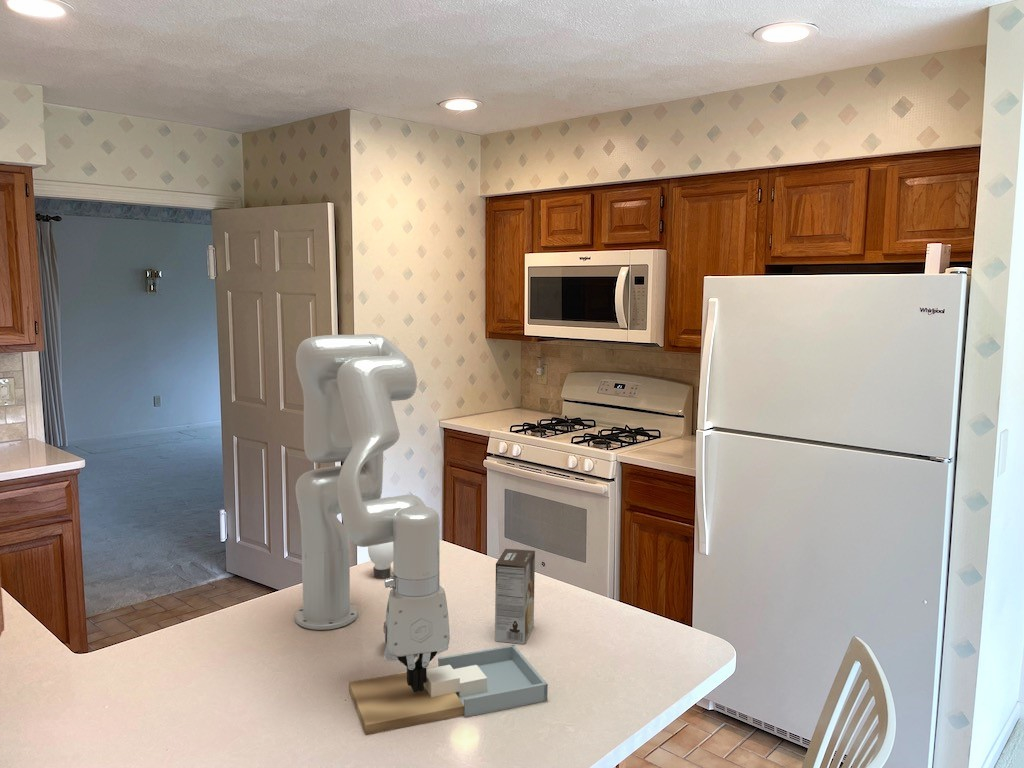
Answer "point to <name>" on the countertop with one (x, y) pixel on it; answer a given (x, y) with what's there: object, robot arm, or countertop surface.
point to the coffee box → (514, 596)
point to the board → (399, 704)
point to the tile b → (471, 680)
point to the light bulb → (381, 559)
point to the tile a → (442, 681)
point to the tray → (500, 680)
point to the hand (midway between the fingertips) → (416, 687)
